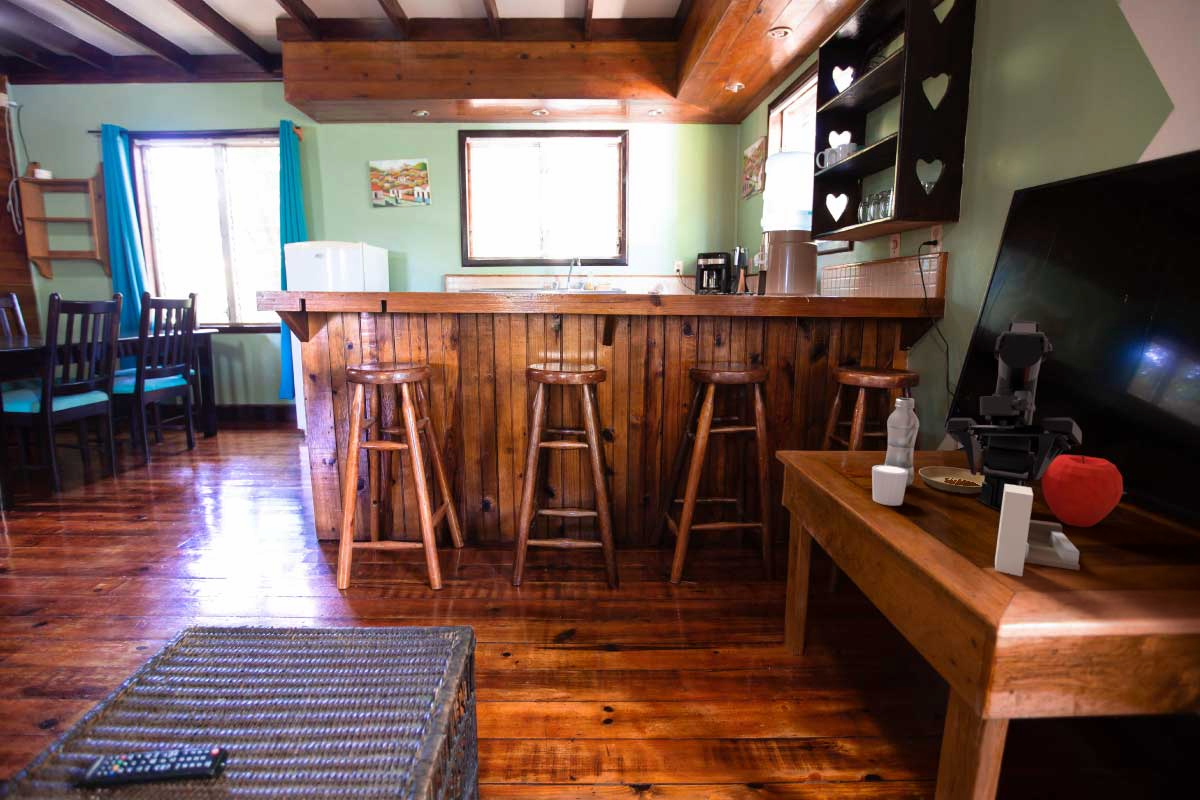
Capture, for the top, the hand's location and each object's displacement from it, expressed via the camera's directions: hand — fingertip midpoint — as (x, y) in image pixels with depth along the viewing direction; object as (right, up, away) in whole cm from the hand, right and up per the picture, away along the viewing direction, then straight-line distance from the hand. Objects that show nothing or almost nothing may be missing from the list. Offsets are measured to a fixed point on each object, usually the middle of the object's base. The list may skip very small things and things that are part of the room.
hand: (1003, 476), depth 98 cm
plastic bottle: (-1, -7, +34) cm, 34 cm away
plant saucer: (+12, -7, +33) cm, 36 cm away
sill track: (+4, -13, -2) cm, 13 cm away
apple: (+22, -11, +11) cm, 26 cm away
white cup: (-8, -8, +23) cm, 26 cm away
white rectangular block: (-4, -14, -7) cm, 16 cm away
